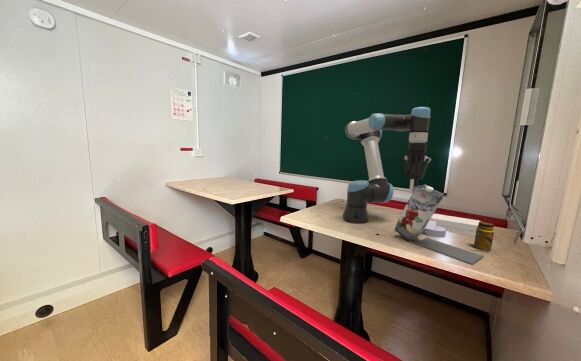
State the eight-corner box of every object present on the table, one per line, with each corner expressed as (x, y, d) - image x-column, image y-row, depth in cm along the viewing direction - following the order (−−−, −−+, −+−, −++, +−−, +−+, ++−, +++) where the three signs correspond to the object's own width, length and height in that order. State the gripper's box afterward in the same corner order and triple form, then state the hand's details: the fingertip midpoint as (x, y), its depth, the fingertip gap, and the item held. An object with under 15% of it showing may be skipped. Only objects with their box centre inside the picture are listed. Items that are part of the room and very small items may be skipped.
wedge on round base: (415, 232, 122) (444, 239, 114) (416, 220, 121) (446, 225, 113) (417, 228, 129) (445, 233, 121) (418, 216, 128) (447, 221, 120)
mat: (414, 244, 106) (414, 242, 106) (427, 238, 113) (427, 237, 113) (472, 265, 89) (472, 263, 89) (482, 257, 96) (483, 255, 96)
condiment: (494, 253, 100) (499, 226, 98) (471, 249, 103) (475, 223, 101) (487, 246, 106) (491, 221, 105) (465, 243, 109) (469, 219, 108)
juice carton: (400, 226, 120) (425, 180, 109) (419, 239, 113) (448, 192, 102) (391, 229, 115) (416, 181, 104) (410, 243, 108) (439, 194, 96)
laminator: (478, 231, 128) (480, 220, 127) (482, 238, 117) (483, 226, 116) (409, 219, 146) (410, 209, 145) (407, 224, 135) (408, 214, 134)
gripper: (399, 142, 110) (394, 191, 113) (428, 142, 99) (422, 196, 102) (408, 142, 114) (403, 190, 117) (436, 142, 103) (430, 194, 107)
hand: (412, 192), depth 110 cm, fingers closed
